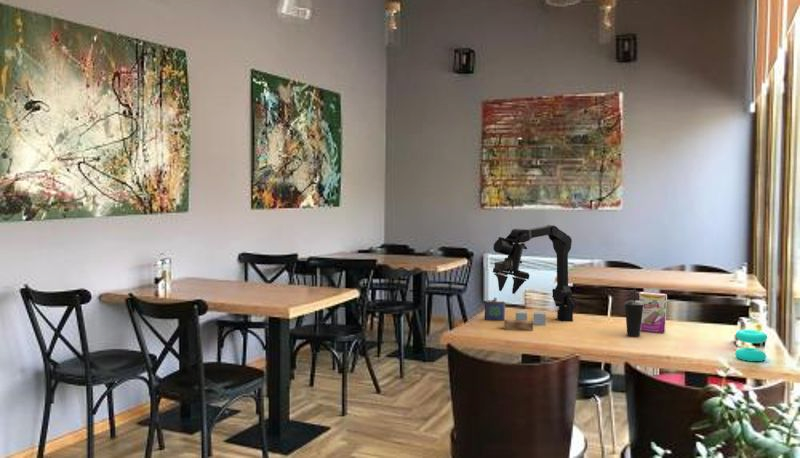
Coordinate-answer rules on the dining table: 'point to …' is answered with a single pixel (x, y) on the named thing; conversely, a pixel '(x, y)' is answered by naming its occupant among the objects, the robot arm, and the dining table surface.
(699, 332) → the dining table surface
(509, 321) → the lintel
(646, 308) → the candy bar box
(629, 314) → the drinking cup
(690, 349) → the dining table surface
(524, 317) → the tilted pale grey prism
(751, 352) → the teal stacked rounded discs
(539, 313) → the pillar
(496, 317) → the flask
